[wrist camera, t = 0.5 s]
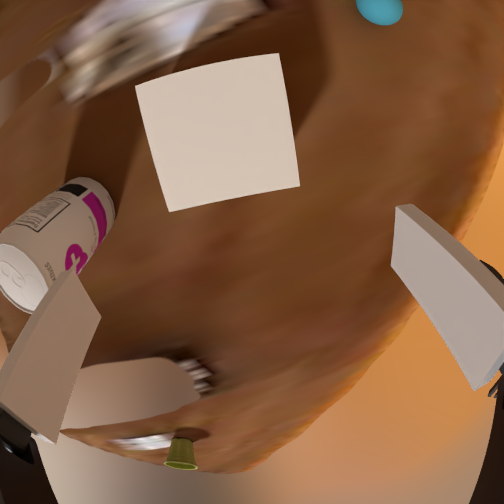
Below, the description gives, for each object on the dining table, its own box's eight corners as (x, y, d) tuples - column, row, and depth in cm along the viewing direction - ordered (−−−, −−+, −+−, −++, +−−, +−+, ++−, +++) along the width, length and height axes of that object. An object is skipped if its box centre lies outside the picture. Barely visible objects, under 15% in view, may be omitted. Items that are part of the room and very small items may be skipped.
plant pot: (190, 447, 68) (190, 471, 61) (162, 440, 65) (160, 465, 58) (203, 440, 65) (203, 466, 57) (172, 433, 61) (170, 460, 54)
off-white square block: (163, 89, 23) (134, 85, 16) (264, 67, 23) (278, 53, 15) (186, 180, 28) (169, 212, 21) (281, 161, 28) (299, 186, 20)
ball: (344, -10, 18) (362, -25, 13) (383, -5, 17) (405, -16, 13) (353, 26, 20) (374, 17, 16) (392, 31, 20) (416, 24, 16)
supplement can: (128, 200, 29) (66, 279, 16) (99, 249, 32) (46, 333, 19) (77, 161, 26) (-9, 216, 13) (53, 214, 29) (-16, 283, 16)
